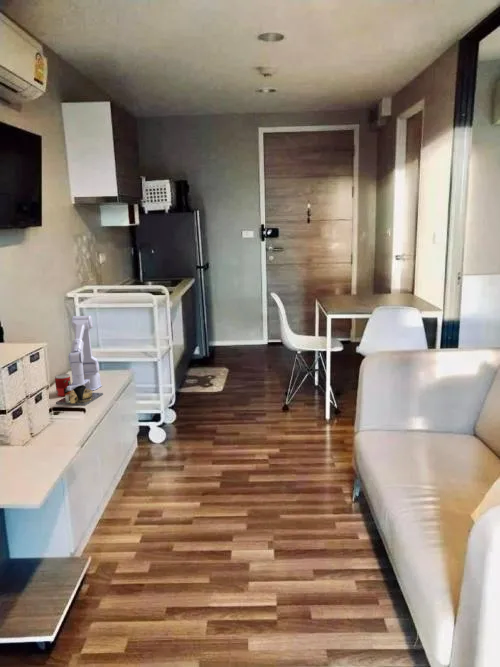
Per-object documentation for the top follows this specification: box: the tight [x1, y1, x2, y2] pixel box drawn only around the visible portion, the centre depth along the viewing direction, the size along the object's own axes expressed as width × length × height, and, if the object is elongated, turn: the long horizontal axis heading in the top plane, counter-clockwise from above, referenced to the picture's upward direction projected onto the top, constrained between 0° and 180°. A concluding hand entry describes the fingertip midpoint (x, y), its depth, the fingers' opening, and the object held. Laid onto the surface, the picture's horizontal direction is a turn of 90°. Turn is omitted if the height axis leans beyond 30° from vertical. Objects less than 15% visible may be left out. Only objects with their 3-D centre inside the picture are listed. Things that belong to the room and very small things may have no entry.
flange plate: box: [55, 392, 104, 406], centre depth 270 cm, size 18×17×4 cm
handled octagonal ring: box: [69, 389, 93, 403], centre depth 268 cm, size 17×11×2 cm, turn 178°
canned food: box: [54, 373, 72, 398], centre depth 278 cm, size 8×8×11 cm
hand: (80, 399), depth 263 cm, fingers closed
